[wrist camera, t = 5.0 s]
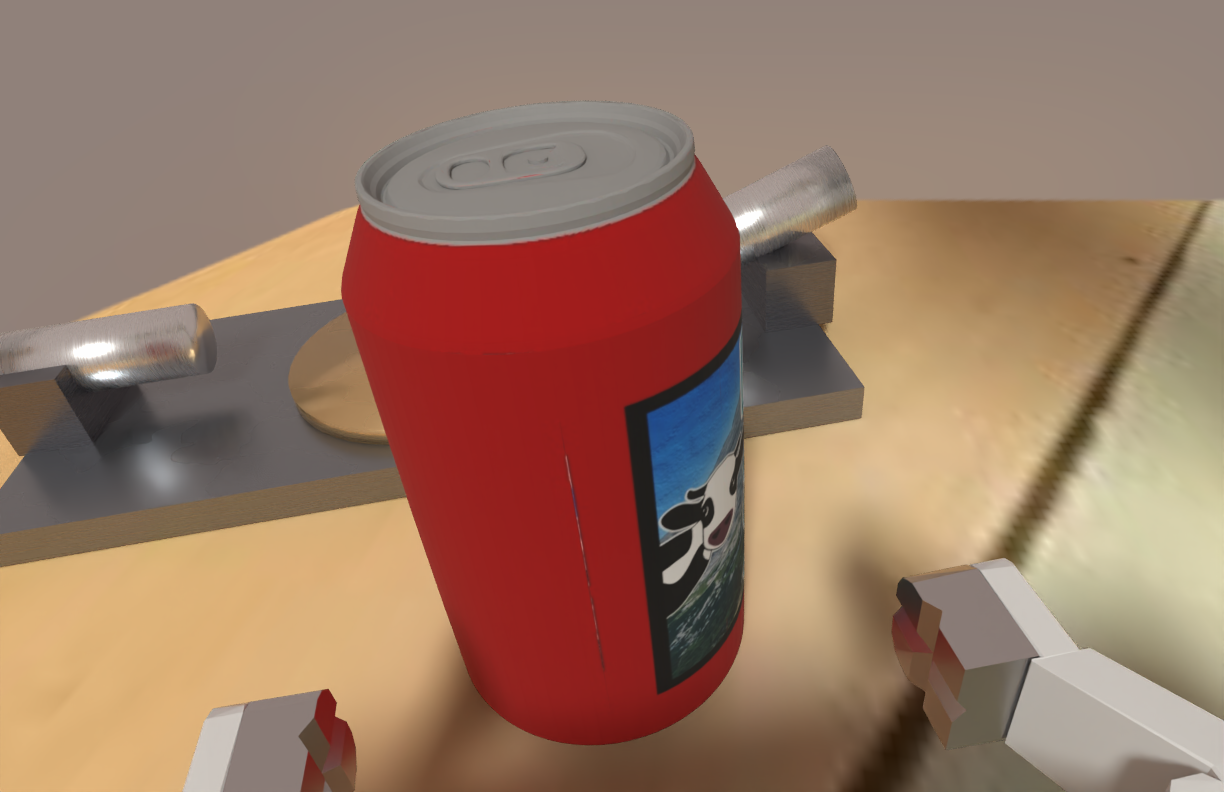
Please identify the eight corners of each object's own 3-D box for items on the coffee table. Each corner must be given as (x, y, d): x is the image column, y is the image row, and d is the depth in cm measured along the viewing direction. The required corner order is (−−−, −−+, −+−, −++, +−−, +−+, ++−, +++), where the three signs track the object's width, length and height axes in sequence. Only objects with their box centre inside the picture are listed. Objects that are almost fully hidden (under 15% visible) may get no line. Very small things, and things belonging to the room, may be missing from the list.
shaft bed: (790, 254, 35) (794, 97, 31) (912, 409, 25) (941, 209, 22) (103, 363, 33) (18, 211, 30) (-51, 575, 24) (-207, 390, 20)
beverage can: (788, 727, 17) (812, 186, 10) (473, 803, 16) (271, 279, 9) (700, 515, 22) (677, 70, 16) (463, 564, 22) (330, 124, 15)
